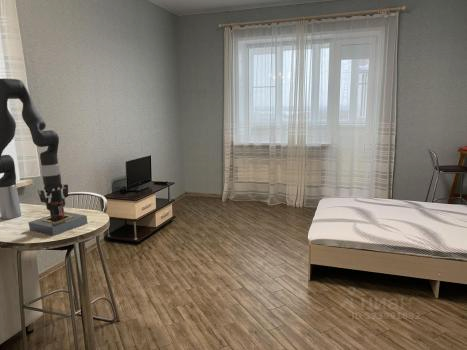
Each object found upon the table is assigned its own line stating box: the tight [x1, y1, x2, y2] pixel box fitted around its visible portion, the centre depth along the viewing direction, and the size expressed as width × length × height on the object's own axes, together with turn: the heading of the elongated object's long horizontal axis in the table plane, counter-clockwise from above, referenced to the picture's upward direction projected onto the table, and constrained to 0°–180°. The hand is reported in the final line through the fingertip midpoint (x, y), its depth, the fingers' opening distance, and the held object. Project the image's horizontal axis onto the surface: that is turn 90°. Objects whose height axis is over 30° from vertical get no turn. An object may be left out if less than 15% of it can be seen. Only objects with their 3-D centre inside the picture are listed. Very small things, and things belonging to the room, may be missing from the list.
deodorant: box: [47, 189, 65, 222], centre depth 163 cm, size 6×6×15 cm
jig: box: [27, 211, 88, 237], centre depth 165 cm, size 18×18×4 cm
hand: (56, 208), depth 164 cm, fingers closed on deodorant, 6 cm apart
